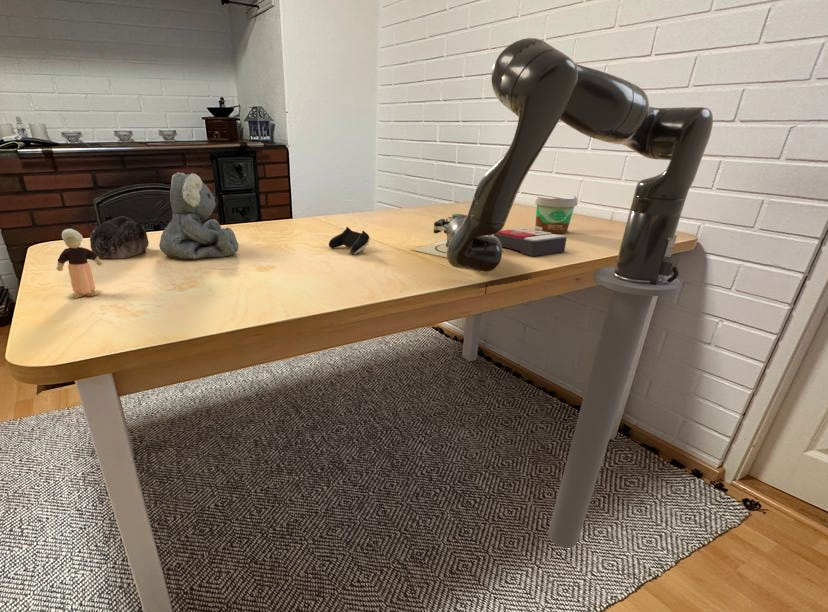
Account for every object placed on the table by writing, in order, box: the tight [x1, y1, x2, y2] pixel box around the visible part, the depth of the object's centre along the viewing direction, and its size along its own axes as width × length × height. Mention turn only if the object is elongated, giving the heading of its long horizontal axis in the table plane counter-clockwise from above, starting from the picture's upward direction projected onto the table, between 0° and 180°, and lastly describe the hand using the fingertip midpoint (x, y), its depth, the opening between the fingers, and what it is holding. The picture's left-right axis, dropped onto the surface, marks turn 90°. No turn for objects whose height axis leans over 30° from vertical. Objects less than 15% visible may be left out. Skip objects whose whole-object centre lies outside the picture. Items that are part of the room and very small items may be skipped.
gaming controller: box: [328, 226, 371, 255], centre depth 121 cm, size 11×4×7 cm
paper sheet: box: [412, 239, 448, 259], centre depth 121 cm, size 16×16×1 cm
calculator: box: [493, 227, 567, 257], centre depth 122 cm, size 11×4×15 cm
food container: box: [534, 195, 578, 235], centre depth 137 cm, size 12×6×10 cm, turn 95°
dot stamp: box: [446, 213, 464, 247], centre depth 121 cm, size 5×5×8 cm
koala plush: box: [158, 171, 239, 260], centre depth 115 cm, size 17×18×20 cm
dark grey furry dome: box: [89, 215, 150, 259], centre depth 118 cm, size 13×14×10 cm
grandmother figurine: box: [56, 228, 104, 299], centre depth 88 cm, size 8×4×13 cm, turn 126°
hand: (456, 221), depth 123 cm, fingers closed on dot stamp, 3 cm apart
